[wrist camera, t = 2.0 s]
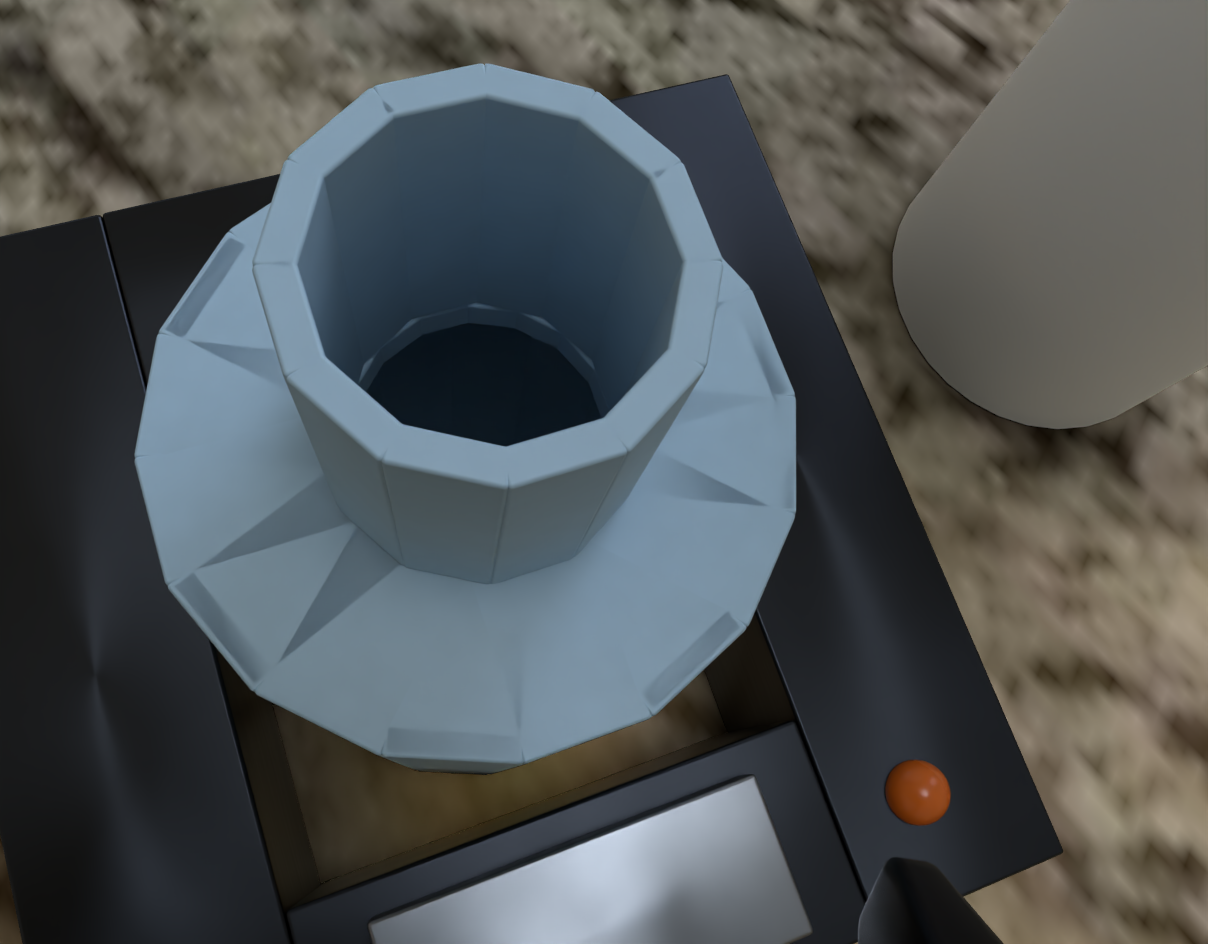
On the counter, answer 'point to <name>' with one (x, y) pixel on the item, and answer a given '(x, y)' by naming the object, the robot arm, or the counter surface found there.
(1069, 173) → the cylindrical container
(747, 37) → the counter surface
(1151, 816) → the counter surface
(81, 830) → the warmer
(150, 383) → the vase
